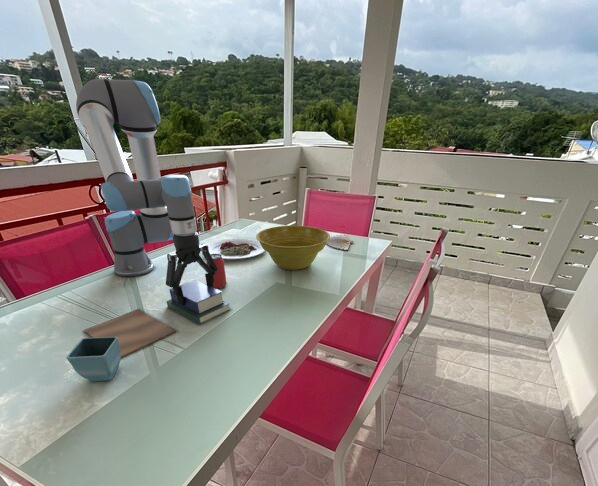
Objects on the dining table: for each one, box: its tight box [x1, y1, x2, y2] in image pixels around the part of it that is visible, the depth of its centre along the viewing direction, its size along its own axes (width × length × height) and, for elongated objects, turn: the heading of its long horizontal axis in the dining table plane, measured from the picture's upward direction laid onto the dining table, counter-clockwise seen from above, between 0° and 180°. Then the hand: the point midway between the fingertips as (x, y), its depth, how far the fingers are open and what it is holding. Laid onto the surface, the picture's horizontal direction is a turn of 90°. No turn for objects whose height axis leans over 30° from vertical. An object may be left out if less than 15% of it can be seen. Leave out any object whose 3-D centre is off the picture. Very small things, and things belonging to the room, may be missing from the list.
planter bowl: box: [255, 225, 331, 271], centre depth 147 cm, size 32×32×13 cm
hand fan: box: [326, 233, 354, 251], centre depth 178 cm, size 26×1×15 cm
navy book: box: [168, 279, 224, 315], centre depth 112 cm, size 15×10×4 cm
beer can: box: [205, 254, 228, 289], centre depth 128 cm, size 7×7×12 cm
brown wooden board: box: [83, 308, 177, 359], centre depth 102 cm, size 22×18×1 cm
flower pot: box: [65, 337, 122, 382], centre depth 83 cm, size 9×9×9 cm
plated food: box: [206, 238, 266, 261], centre depth 163 cm, size 30×30×3 cm
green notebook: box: [165, 298, 231, 325], centre depth 115 cm, size 18×13×2 cm
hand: (196, 297), depth 113 cm, fingers open, 11 cm apart
